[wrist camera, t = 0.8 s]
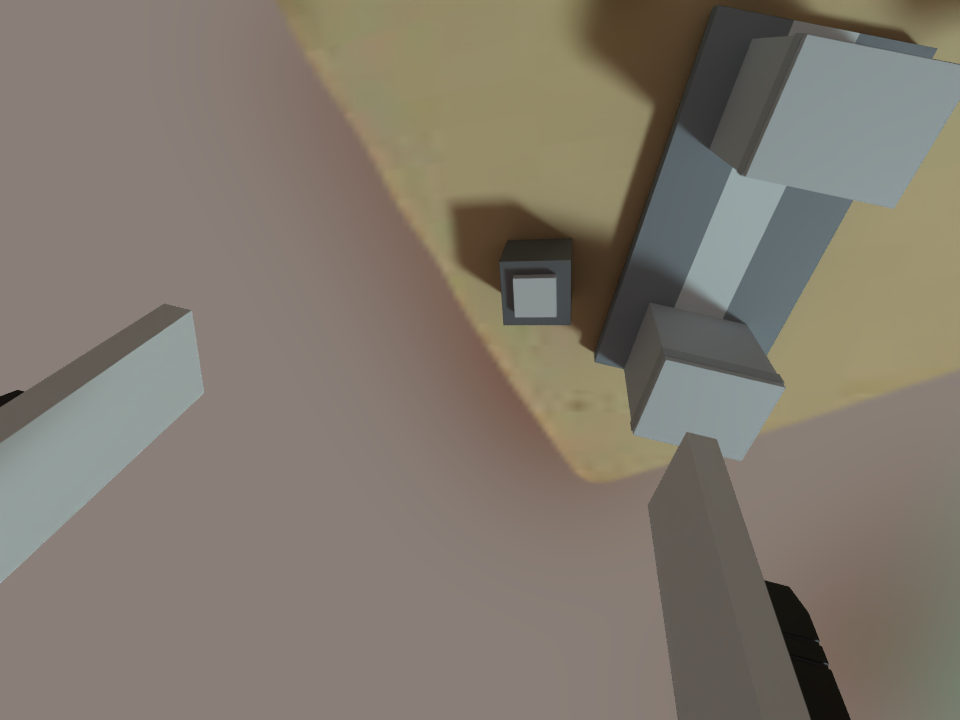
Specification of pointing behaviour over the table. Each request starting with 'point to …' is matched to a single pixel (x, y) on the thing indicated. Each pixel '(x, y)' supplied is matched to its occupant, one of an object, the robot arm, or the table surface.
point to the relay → (536, 282)
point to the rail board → (758, 209)
